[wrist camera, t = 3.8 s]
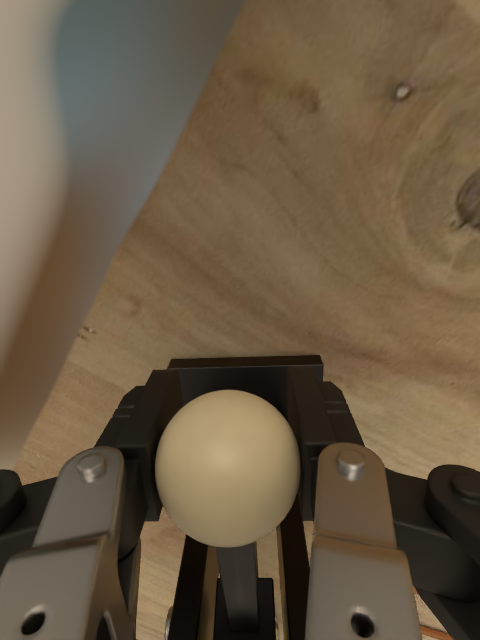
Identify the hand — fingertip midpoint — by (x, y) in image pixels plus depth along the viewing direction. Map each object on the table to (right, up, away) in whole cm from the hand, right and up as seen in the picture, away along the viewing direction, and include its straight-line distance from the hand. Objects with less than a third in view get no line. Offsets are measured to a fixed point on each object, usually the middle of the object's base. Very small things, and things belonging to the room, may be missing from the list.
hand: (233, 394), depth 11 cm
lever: (0, -4, +1) cm, 4 cm away
